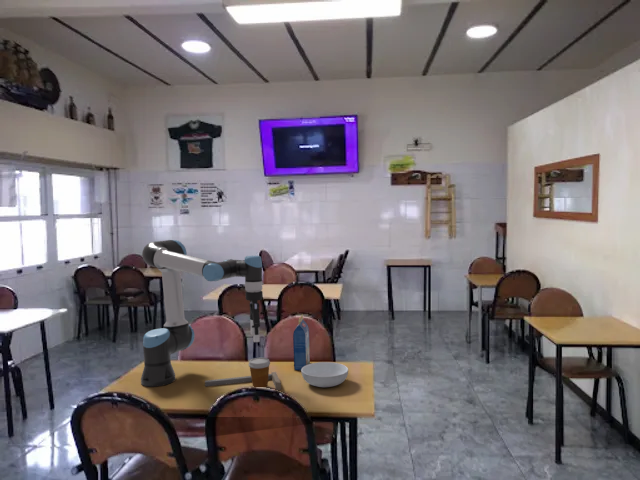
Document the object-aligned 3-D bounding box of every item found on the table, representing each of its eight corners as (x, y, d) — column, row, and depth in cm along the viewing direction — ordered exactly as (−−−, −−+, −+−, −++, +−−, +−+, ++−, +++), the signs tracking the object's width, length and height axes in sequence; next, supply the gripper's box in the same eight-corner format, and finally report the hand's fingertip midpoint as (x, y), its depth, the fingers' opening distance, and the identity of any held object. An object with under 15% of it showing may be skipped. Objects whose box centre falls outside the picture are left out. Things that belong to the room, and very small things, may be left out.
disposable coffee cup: (253, 392, 207) (252, 365, 206) (246, 386, 215) (245, 359, 214) (274, 388, 211) (273, 361, 210) (266, 382, 219) (265, 356, 219)
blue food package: (293, 370, 235) (292, 319, 234) (297, 362, 247) (296, 314, 245) (306, 370, 234) (305, 319, 233) (310, 362, 246) (308, 314, 245)
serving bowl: (345, 393, 203) (345, 377, 203) (296, 391, 207) (296, 375, 207) (351, 376, 224) (351, 362, 223) (307, 375, 228) (306, 360, 227)
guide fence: (205, 397, 202) (204, 390, 202) (205, 385, 218) (204, 378, 218) (280, 389, 210) (280, 382, 210) (275, 377, 225) (275, 371, 225)
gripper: (265, 294, 204) (266, 344, 205) (259, 286, 228) (260, 330, 229) (247, 295, 202) (248, 346, 203) (243, 286, 226) (244, 331, 227)
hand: (255, 337), depth 216 cm, fingers open, 13 cm apart
